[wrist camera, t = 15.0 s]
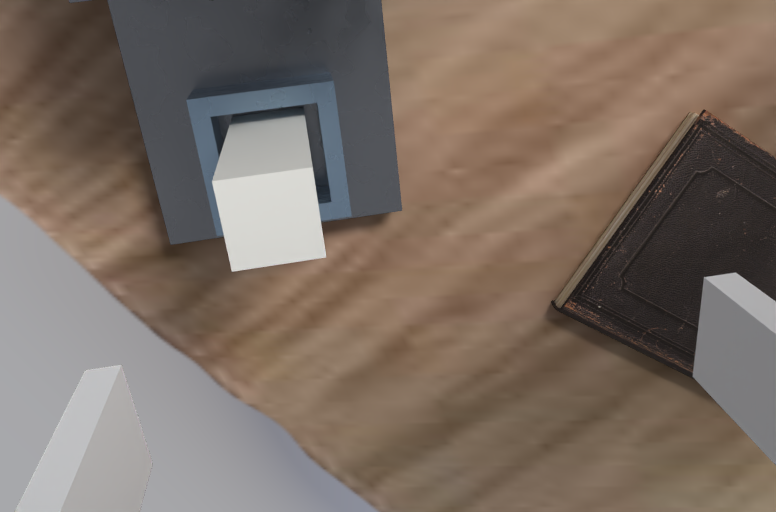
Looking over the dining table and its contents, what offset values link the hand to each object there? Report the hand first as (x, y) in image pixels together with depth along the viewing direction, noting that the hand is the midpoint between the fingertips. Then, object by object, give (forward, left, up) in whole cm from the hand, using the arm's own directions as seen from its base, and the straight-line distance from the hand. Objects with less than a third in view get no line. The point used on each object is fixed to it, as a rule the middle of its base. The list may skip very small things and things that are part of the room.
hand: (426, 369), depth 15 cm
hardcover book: (+16, +27, -28) cm, 42 cm away
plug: (+1, -4, -26) cm, 26 cm away
